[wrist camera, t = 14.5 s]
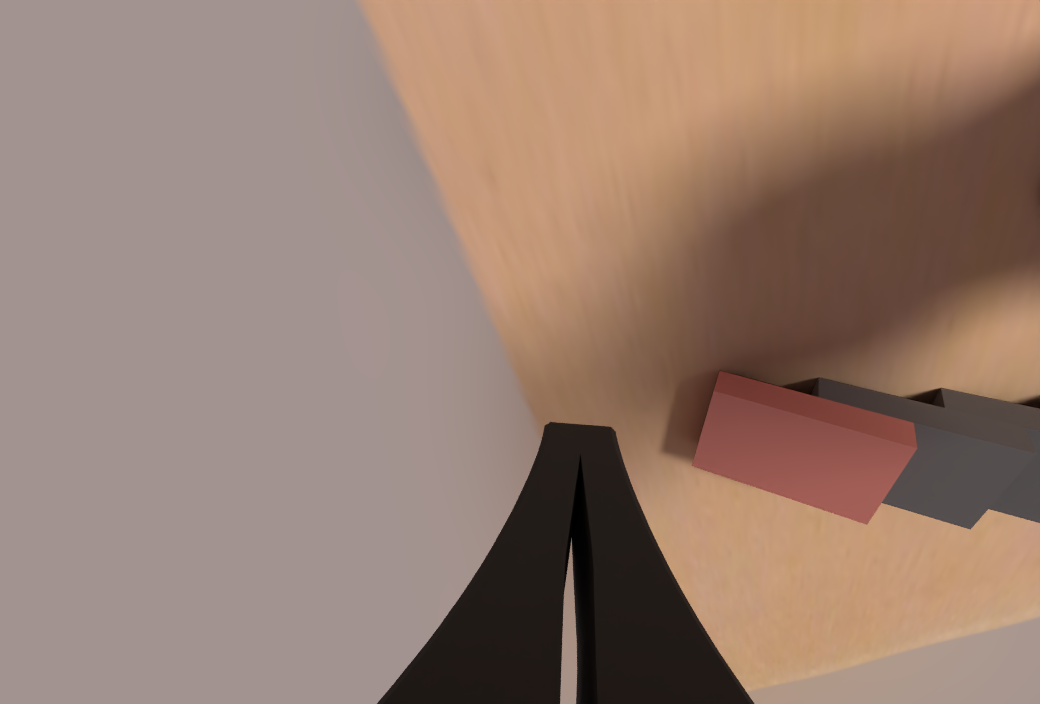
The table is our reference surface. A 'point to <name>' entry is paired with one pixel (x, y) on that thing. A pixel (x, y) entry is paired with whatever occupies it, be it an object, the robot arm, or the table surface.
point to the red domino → (803, 446)
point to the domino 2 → (1036, 486)
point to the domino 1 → (945, 455)
